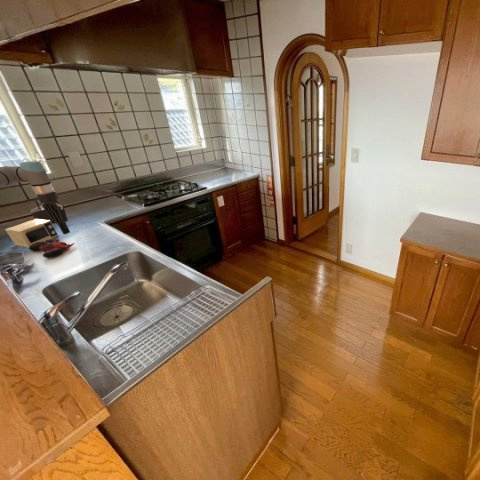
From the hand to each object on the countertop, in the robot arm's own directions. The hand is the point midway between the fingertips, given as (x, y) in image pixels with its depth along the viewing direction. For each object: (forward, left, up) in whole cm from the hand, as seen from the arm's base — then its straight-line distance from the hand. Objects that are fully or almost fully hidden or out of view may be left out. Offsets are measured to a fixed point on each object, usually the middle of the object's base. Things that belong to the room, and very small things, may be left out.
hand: (66, 233), depth 146 cm
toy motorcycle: (-17, 0, -13) cm, 21 cm away
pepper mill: (-68, +32, -13) cm, 76 cm away
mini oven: (-41, +6, -13) cm, 43 cm away
